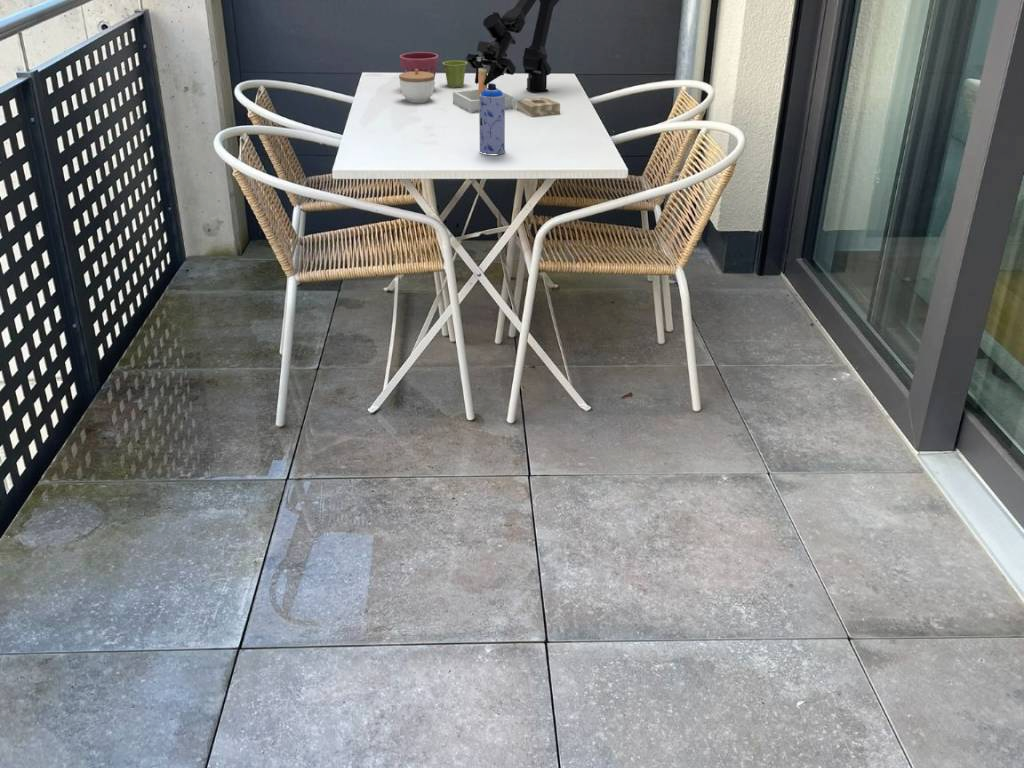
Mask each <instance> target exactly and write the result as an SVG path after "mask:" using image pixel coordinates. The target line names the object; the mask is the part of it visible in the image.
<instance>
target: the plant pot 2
mask: <svg viewBox="0 0 1024 768" xmlns="http://www.w3.org/2000/svg"><path fill="white" fill-rule="evenodd" d="M442 65H443V68H444V72H445V79H446V84H447V86H448V87H449V88H462V87H464V84H465V74H466V68H467V65H468V61H464V60H448V61H443V62H442Z"/></svg>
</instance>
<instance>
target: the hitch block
mask: <svg viewBox="0 0 1024 768" xmlns="http://www.w3.org/2000/svg"><path fill="white" fill-rule="evenodd" d="M516 104H517V106H516V107H517V108H516V110H517V111H518V112H520V113H522V114H525V115H527V116H529V117H530V118H532V117H542V116H543V117H544V116H552V115H560V114H561V103H560V102H558V101H555V100H554V99H551V98H549V97H547V96H544V97H533V98H523V99H517V103H516Z"/></svg>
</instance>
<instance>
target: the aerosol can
mask: <svg viewBox="0 0 1024 768" xmlns="http://www.w3.org/2000/svg"><path fill="white" fill-rule="evenodd" d="M502 92H503V91H502V90H500V89H499V88H497V85H496V84H495V83H491V82H490V83H489V84H487V88H486V89H485V90H483V91H482V93H481V94H480V97H479V112H478V114H479V118H478V119H479V121H478V122H479V150H480V152H482V153H486V154H502V153H504V154H505V153H506V149H505V147H506V146H505V145H506V144H505V143H506V142H505V140H506V139H505V138H506V137H505V136H506V133H505V128H506V127H505V126H506V117H505V115H506V114H505V113H506V109H505V97H504V94H503V93H504V92H503V93H502ZM502 155H503V154H502Z"/></svg>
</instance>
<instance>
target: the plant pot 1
mask: <svg viewBox="0 0 1024 768" xmlns="http://www.w3.org/2000/svg"><path fill="white" fill-rule="evenodd" d="M399 63H400V67H401V68H402V70H403V71H402V72H403V73H405V72H414V71H415V69H418V71H421V72H430V73H433V74H434V75H435V76H436V72H437V68H438V67H439V66H440V65H439V63H440V60H439V54H437V53H435V52H429V51H412V52H406V53H402V54H400V55H399Z"/></svg>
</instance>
